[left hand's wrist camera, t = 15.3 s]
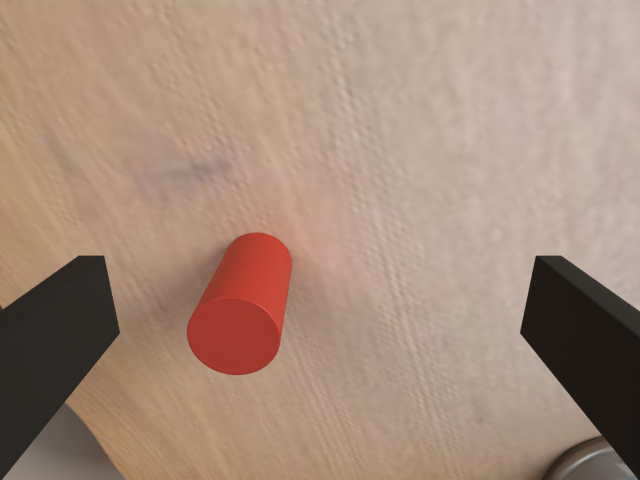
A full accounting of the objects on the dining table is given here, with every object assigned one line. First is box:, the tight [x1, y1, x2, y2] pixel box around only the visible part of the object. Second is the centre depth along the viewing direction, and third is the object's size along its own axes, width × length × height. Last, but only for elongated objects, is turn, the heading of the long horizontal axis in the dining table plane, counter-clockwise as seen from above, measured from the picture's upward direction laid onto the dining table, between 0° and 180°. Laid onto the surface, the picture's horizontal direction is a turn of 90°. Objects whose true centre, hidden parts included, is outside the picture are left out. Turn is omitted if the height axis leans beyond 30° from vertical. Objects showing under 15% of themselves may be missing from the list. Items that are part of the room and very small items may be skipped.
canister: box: [187, 233, 292, 375], centre depth 28 cm, size 5×5×10 cm
